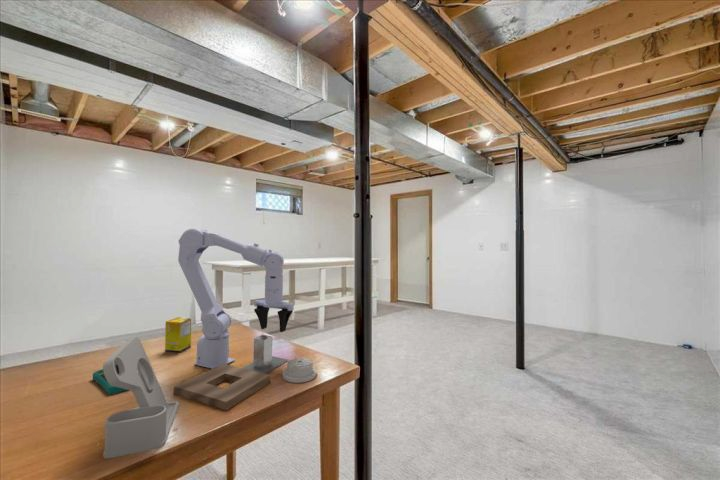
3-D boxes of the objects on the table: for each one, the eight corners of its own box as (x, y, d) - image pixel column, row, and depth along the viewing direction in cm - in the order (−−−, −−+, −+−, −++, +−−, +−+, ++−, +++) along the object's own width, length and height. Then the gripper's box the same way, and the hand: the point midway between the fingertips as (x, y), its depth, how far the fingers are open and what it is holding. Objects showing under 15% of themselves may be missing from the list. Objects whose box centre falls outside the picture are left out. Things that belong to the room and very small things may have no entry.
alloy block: (253, 366, 96) (253, 338, 96) (261, 362, 100) (262, 334, 100) (263, 369, 95) (264, 340, 95) (271, 364, 98) (272, 336, 98)
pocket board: (173, 394, 79) (173, 386, 79) (222, 370, 94) (223, 363, 94) (226, 410, 72) (226, 401, 72) (270, 381, 87) (270, 374, 87)
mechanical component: (276, 381, 88) (309, 385, 86) (276, 366, 88) (309, 370, 86) (291, 367, 97) (320, 371, 95) (291, 353, 97) (321, 357, 95)
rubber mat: (236, 371, 93) (236, 370, 93) (267, 356, 106) (267, 355, 106) (260, 377, 89) (260, 376, 89) (288, 360, 102) (288, 359, 102)
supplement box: (176, 346, 113) (177, 316, 113) (191, 347, 113) (192, 317, 113) (164, 352, 107) (164, 321, 107) (179, 353, 107) (180, 322, 107)
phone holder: (163, 448, 59) (165, 355, 59) (98, 461, 55) (100, 362, 55) (179, 403, 75) (181, 330, 75) (130, 411, 71) (131, 334, 71)
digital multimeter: (109, 397, 77) (110, 386, 77) (91, 381, 86) (92, 370, 86) (143, 387, 83) (143, 376, 83) (123, 372, 92) (123, 362, 92)
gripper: (248, 289, 100) (247, 330, 100) (284, 292, 95) (284, 336, 95) (262, 286, 107) (261, 324, 107) (297, 289, 102) (296, 330, 102)
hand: (273, 329), depth 101 cm, fingers open, 7 cm apart
